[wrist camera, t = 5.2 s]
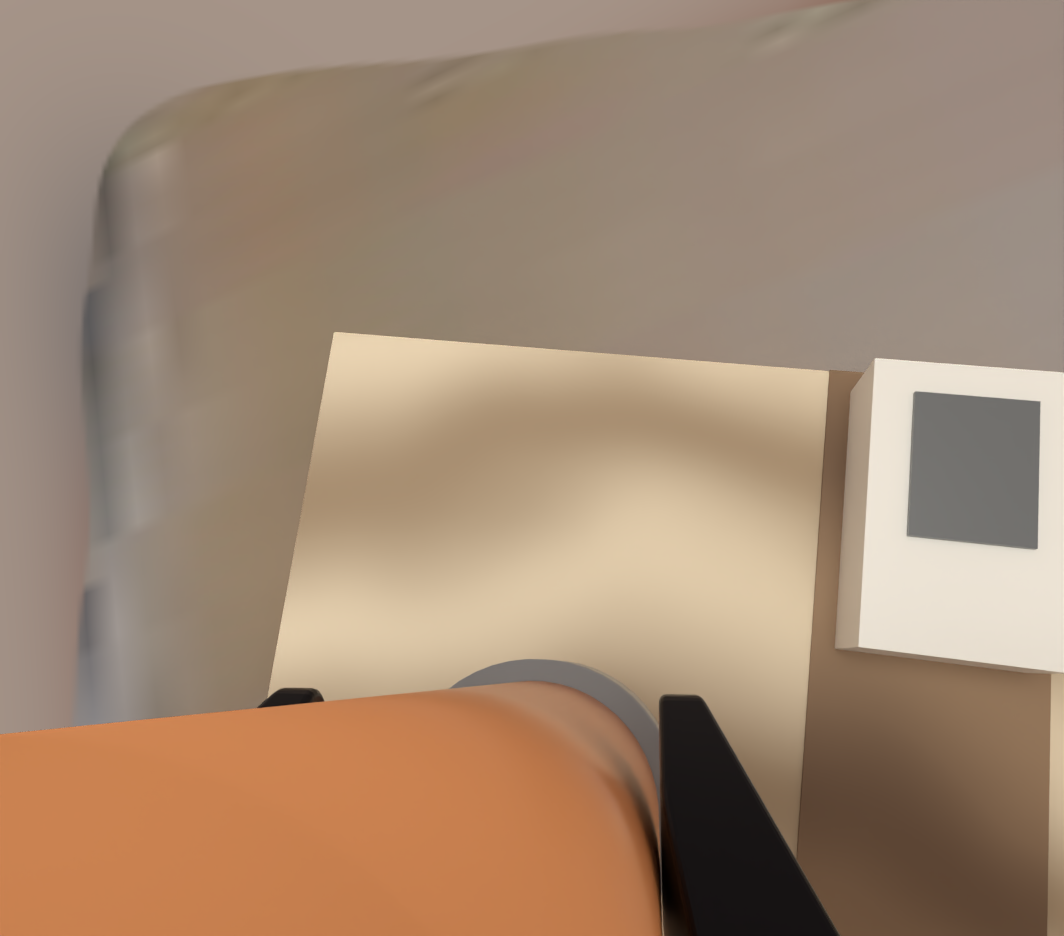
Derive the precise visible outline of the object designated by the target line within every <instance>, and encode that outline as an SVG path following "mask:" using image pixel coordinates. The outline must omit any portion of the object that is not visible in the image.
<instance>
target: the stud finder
mask: <svg viewBox="0 0 1064 936" xmlns="http://www.w3.org/2000/svg"><path fill="white" fill-rule="evenodd" d="M835 649H840V650H848V651H856V652H864V653H872V654H880V655H888V656H896V657H904V658H912V659H920V660H928V661H935V662H943V663H951V664H959V665H967V666H975V667H983V668H991V669H999V670H1007V671H1015V672H1023V673H1046V674H1064V373H1062V372H1049V371H1036V370H1022V369H1009V368H996V367H983V366H970V365H957V364H944V363H931V362H918V361H905V360H892V359H878V358H875V359H874V360H873V362H872V363H871V364H870V366H869V367H868V368H867V370H866V371H865V373H864V374H863V375H862V377H861V378H860V380H859V381H858V382H857V384H856V385H855V386H854V388H853V389H852V391H851V394H850V410H849V426H848V442H847V458H846V474H845V490H844V506H843V522H842V538H841V554H840V571H839V587H838V603H837V619H836V635H835Z"/></svg>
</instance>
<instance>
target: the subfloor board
mask: <svg viewBox="0 0 1064 936" xmlns="http://www.w3.org/2000/svg"><path fill="white" fill-rule="evenodd" d="M863 374H864V373H862V372H849V371H837V370H830V371H819V370H806V369H794V368H781V367H769V366H756V365H743V364H731V363H718V362H706V361H693V360H680V359H668V358H655V357H642V356H630V355H617V354H605V353H592V352H579V351H567V350H554V349H541V348H529V347H516V346H504V345H491V344H478V343H466V342H453V341H440V340H428V339H415V338H403V337H390V336H377V335H365V334H352V333H340V332H334V336H333V341H332V347H331V352H330V358H329V363H328V369H327V374H326V380H325V385H324V391H323V396H322V402H321V407H320V413H319V418H318V424H317V429H316V434H315V440H314V445H313V451H312V456H311V462H310V467H309V473H308V478H307V484H306V489H305V495H304V500H303V506H302V511H301V517H300V522H299V528H298V533H297V538H296V544H295V549H294V555H293V560H292V566H291V571H290V577H289V582H288V588H287V593H286V599H285V604H284V610H283V615H282V621H281V626H280V631H279V637H278V642H277V648H276V653H275V659H274V664H273V670H272V675H271V681H270V686H269V692H268V697H269V696H271V695H272V694H273V693H274V692H275V691H277V690H279V689H281V688H314V689H317V690H318V691H320V693H321V694H322V696H323V698H324V701H334V700H344V699H354V698H363V697H373V696H383V695H393V694H403V693H413V692H423V691H432V690H442V689H449V688H450V687H452V686H453V685H454V684H456V683H457V682H458V681H460V680H462V679H463V678H465V677H467V676H469V675H471V674H472V673H474V672H476V671H479V670H481V669H484V668H486V667H489V666H491V665H495V664H499V663H503V662H507V661H514V660H523V659H547V660H559V661H568V662H574V663H579V664H583V665H586V666H589V667H593V668H595V669H598V670H600V671H602V672H604V673H606V674H608V675H610V676H612V677H613V678H615V679H617V680H618V681H620V682H621V683H623V684H624V685H625V686H626V687H628V688H629V689H630V690H631V691H632V692H634V693H635V694H636V695H637V696H638V697H639V698H640V699H641V701H642V702H643V703H644V704H645V705H646V706H647V707H648V709H649V710H650V711H651V713H652V714H653V716H654V717H655V718H656V720H657V722H658V724H659V699H660V697H661V696H662V695H664V694H692V695H699V696H700V697H702V698H703V700H704V701H705V702H706V704H707V705H708V707H709V709H710V710H711V712H712V714H713V716H714V717H715V719H716V721H717V723H718V724H719V726H720V728H721V730H722V731H723V733H724V735H725V736H726V738H727V740H728V742H729V743H730V745H731V747H732V749H733V750H734V752H735V754H736V755H737V757H738V759H739V761H740V762H741V764H742V766H743V768H744V769H745V771H746V773H747V774H748V776H749V778H750V780H751V781H752V783H753V785H754V787H755V788H756V790H757V792H758V794H759V795H760V797H761V799H762V800H763V802H764V804H765V806H766V807H767V809H768V811H769V813H770V814H771V816H772V818H773V819H774V821H775V823H776V825H777V826H778V828H779V830H780V832H781V833H782V835H783V837H784V839H785V840H786V842H787V844H788V845H789V847H790V849H791V851H792V852H793V854H794V856H795V858H796V859H797V861H798V863H799V864H800V866H801V868H802V870H803V871H804V873H805V875H806V877H807V878H808V880H809V882H810V884H811V885H812V887H813V889H814V890H815V892H816V894H817V896H818V897H819V899H820V901H821V903H822V904H823V906H824V908H825V909H826V911H827V913H828V915H829V916H830V918H831V920H832V922H833V923H834V925H835V927H836V928H837V930H838V932H839V934H840V935H841V936H1064V674H1046V673H1023V672H1015V671H1007V670H999V669H991V668H983V667H975V666H967V665H959V664H951V663H943V662H935V661H928V660H920V659H912V658H904V657H896V656H888V655H880V654H872V653H864V652H856V651H848V650H840V649H835V635H836V619H837V603H838V587H839V571H840V554H841V538H842V522H843V506H844V490H845V474H846V458H847V442H848V426H849V410H850V394H851V391H852V389H853V388H854V386H855V385H856V384H857V382H858V381H859V380H860V378H861V377H862V375H863ZM268 697H267V698H268ZM661 903H662V895H661ZM662 936H664V928H663V910H662Z"/></svg>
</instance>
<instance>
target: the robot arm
mask: <svg viewBox="0 0 1064 936" xmlns="http://www.w3.org/2000/svg"><path fill="white" fill-rule="evenodd" d="M314 702H324V698H323V696H322V694H321V693H320V691H318V690H317V689H314V688H281V689H279V690H277V691H275V692H274V693H273V694H272V695H271V696H269V697H268V698H267V699H266V700H265V701H264V702H263V703H262V704H261V705H259V706H258V707H257V708H265V707H275V706H285V705H294V704H304V703H314ZM659 764H660V817H661V870H662V910H663V928H664V936H841V935H840V934H839V932H838V930H837V928H836V927H835V925H834V923H833V922H832V920H831V918H830V916H829V915H828V913H827V911H826V909H825V908H824V906H823V904H822V903H821V901H820V899H819V897H818V896H817V894H816V892H815V890H814V889H813V887H812V885H811V884H810V882H809V880H808V878H807V877H806V875H805V873H804V871H803V870H802V868H801V866H800V864H799V863H798V861H797V859H796V858H795V856H794V854H793V852H792V851H791V849H790V847H789V845H788V844H787V842H786V840H785V839H784V837H783V835H782V833H781V832H780V830H779V828H778V826H777V825H776V823H775V821H774V819H773V818H772V816H771V814H770V813H769V811H768V809H767V807H766V806H765V804H764V802H763V800H762V799H761V797H760V795H759V794H758V792H757V790H756V788H755V787H754V785H753V783H752V781H751V780H750V778H749V776H748V774H747V773H746V771H745V769H744V768H743V766H742V764H741V762H740V761H739V759H738V757H737V755H736V754H735V752H734V750H733V749H732V747H731V745H730V743H729V742H728V740H727V738H726V736H725V735H724V733H723V731H722V730H721V728H720V726H719V724H718V723H717V721H716V719H715V717H714V716H713V714H712V712H711V710H710V709H709V707H708V705H707V704H706V702H705V701H704V700H703V698H702V697H700V696H699V695H692V694H664V695H662V696H661V697H660V699H659Z"/></svg>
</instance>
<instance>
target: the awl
mask: <svg viewBox="0 0 1064 936" xmlns="http://www.w3.org/2000/svg"><path fill="white" fill-rule="evenodd" d="M661 895H662V870H661V817H660V764H659V724H658V722H657V720H656V718H655V717H654V716H653V714H652V713H651V711H650V710H649V709H648V707H647V706H646V705H645V704H644V703H643V702H642V701H641V699H640V698H639V697H638V696H637V695H636V694H635V693H634V692H632V691H631V690H630V689H629V688H628V687H626V686H625V685H624V684H623V683H621V682H620V681H618V680H617V679H615V678H613V677H612V676H610V675H608V674H606V673H604V672H602V671H600V670H598V669H595V668H593V667H589V666H586V665H583V664H579V663H574V662H568V661H559V660H547V659H523V660H514V661H507V662H503V663H499V664H495V665H491V666H489V667H486V668H484V669H481V670H479V671H476V672H474V673H472V674H471V675H469V676H467V677H465V678H463V679H462V680H460V681H458V682H457V683H456V684H454V685H453V686H452V687H450V688H449V689H442V690H432V691H423V692H413V693H403V694H393V695H383V696H373V697H363V698H354V699H344V700H334V701H324V702H314V703H304V704H294V705H285V706H275V707H265V708H255V709H245V710H235V711H225V712H216V713H206V714H196V715H186V716H176V717H166V718H156V719H147V720H137V721H127V722H117V723H107V724H97V725H87V726H78V727H68V728H58V729H49V730H39V731H28V732H19V733H9V734H0V936H662V903H661Z"/></svg>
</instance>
